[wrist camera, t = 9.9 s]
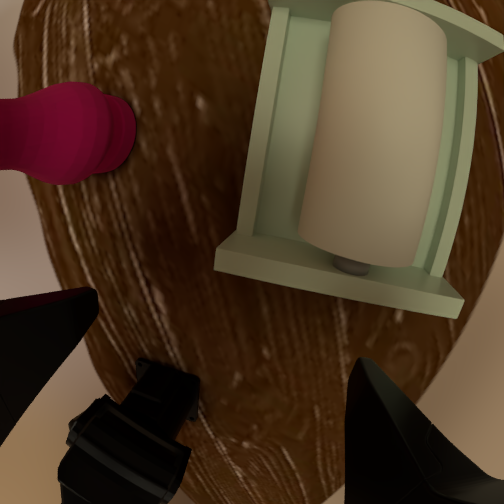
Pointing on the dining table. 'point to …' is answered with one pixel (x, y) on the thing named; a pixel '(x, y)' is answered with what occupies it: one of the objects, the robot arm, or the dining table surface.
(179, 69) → the dining table surface
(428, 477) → the robot arm
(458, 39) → the roll cradle
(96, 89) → the pepper mill
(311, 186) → the kitchen roll
